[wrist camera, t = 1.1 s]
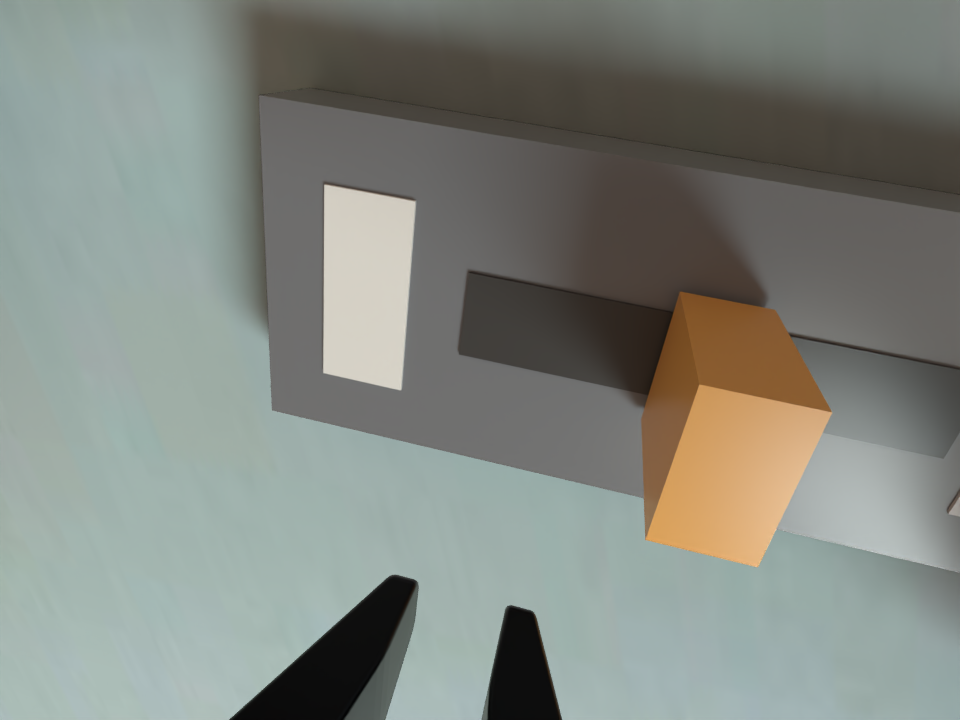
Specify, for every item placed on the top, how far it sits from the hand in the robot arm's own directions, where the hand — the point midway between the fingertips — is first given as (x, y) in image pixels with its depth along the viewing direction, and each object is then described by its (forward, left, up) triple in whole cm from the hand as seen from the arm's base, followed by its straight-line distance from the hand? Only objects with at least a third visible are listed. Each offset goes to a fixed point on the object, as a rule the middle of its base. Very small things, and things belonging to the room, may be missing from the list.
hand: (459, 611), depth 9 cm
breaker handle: (-4, 0, -10) cm, 11 cm away
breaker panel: (-3, 0, -13) cm, 13 cm away
